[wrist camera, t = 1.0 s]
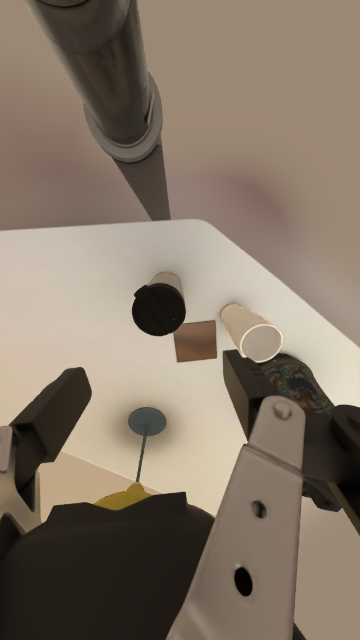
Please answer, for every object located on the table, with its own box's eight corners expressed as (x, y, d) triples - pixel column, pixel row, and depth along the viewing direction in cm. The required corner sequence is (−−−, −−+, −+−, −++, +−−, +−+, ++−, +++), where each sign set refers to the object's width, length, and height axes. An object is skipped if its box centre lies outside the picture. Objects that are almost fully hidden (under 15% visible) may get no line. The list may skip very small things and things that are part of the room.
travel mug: (169, 264, 37) (162, 271, 18) (186, 290, 39) (197, 320, 20) (145, 281, 38) (116, 305, 19) (163, 306, 40) (153, 349, 21)
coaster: (172, 325, 42) (172, 325, 41) (214, 320, 42) (215, 321, 41) (177, 361, 45) (177, 362, 45) (216, 357, 45) (217, 358, 44)
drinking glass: (212, 322, 42) (231, 355, 27) (225, 295, 40) (253, 316, 25) (237, 331, 43) (268, 368, 28) (251, 306, 41) (292, 332, 26)
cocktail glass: (191, 418, 51) (204, 554, 28) (153, 452, 56) (137, 594, 32) (140, 386, 47) (106, 514, 24) (103, 425, 51) (43, 567, 28)
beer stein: (302, 344, 44) (448, 444, 21) (305, 403, 51) (418, 529, 27) (237, 360, 45) (305, 473, 22) (248, 416, 52) (309, 548, 28)
